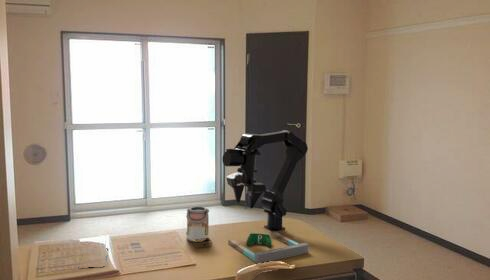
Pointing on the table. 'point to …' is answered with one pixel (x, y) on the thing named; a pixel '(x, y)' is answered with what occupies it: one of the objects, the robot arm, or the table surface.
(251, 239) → the gaming controller
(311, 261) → the table surface
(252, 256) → the teal band
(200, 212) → the pink white can
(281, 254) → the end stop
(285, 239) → the rails
